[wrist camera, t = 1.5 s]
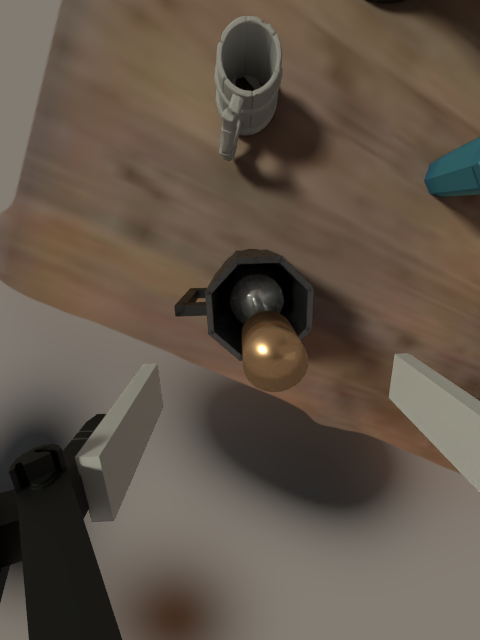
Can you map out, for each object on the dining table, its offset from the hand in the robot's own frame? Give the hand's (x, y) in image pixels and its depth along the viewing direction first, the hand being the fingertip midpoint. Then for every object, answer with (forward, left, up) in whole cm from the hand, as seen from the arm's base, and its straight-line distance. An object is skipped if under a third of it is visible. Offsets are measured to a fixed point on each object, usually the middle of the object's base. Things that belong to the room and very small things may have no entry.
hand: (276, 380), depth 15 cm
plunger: (0, 0, -19) cm, 19 cm away
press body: (+2, 0, -29) cm, 29 cm away
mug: (+1, -22, -29) cm, 36 cm away
